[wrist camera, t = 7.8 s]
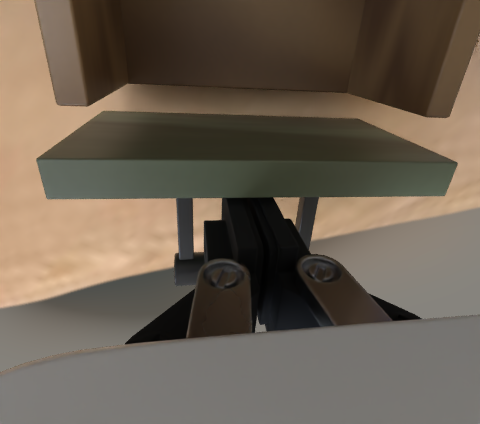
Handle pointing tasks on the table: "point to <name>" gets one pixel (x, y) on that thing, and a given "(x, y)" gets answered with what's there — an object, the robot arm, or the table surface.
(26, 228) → the table surface
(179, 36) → the drawer
